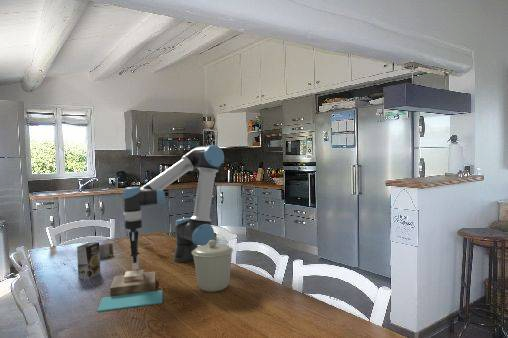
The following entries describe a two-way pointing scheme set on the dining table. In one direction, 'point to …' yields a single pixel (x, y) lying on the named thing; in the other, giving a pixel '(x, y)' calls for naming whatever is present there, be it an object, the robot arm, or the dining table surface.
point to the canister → (213, 266)
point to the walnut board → (133, 285)
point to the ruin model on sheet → (106, 250)
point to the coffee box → (88, 260)
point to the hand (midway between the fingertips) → (135, 268)
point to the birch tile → (134, 275)
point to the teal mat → (130, 300)
